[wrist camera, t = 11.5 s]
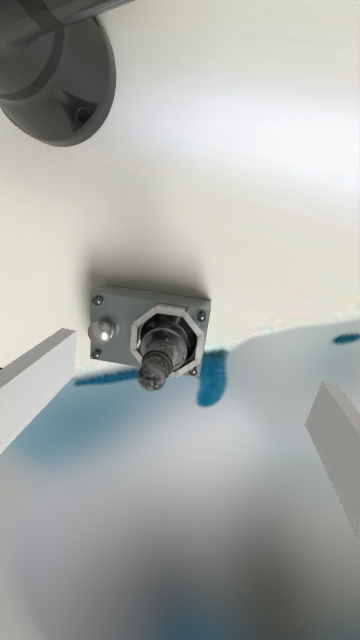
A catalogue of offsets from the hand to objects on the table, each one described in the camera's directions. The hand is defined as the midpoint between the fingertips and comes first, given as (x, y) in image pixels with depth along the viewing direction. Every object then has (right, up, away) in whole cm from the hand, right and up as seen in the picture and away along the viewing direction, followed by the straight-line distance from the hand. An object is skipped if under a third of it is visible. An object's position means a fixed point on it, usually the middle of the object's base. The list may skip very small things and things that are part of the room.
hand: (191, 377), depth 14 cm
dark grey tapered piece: (-2, +1, +22) cm, 22 cm away
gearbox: (-5, +3, +27) cm, 28 cm away
